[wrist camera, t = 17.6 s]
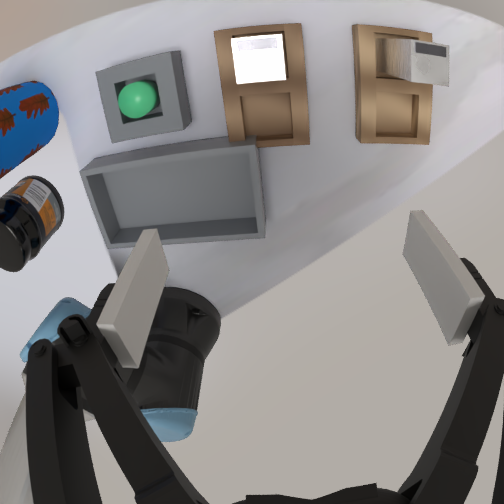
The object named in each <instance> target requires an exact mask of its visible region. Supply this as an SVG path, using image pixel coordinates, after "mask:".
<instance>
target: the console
mask: <svg viewBox="0 0 504 504" xmlns="http://www.w3.org/2000/svg"><path fill="white" fill-rule="evenodd" d="M96 76H97V81H98V86H99V91H100V95H101V100H102V104H103V109H104V113H105V117H106V121H107V125H108V129H109V133H110V137H111V141H112V143H116V142H121V141H125V140H130V139H135V138H140V137H146V136H151V135H156V134H162V133H168V132H174V131H180V130H184V129H185V128H186V127H187V126H188V125H189V124H190V123H191V122H192V120H191V114H190V108H189V103H188V97H187V91H186V85H185V79H184V73H183V66H182V60H181V54H180V51H172V52H167V53H162V54H158V55H154V56H149V57H145V58H142V59H138V60H134V61H130V62H127V63H123V64H120V65H116V66H113V67H110V68H107V69H104V70H101V71H97V72H96ZM140 80H151V81H153V82H154V83H156V84H157V86H158V91H159V96H160V102H159V104H158V105H157V107H156V108H155V109H153V110H152V111H150V112H149V113H147V114H146V115H144V116H142V117H140V118H130V117H128V116H126V115H124V114H123V113H122V111H121V110H120V108H119V105H118V97H119V94H120V92H121V90H122V89H123V88H124V87H125V86H127V85H129V84H131V83H134V82H137V81H140Z"/></svg>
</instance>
